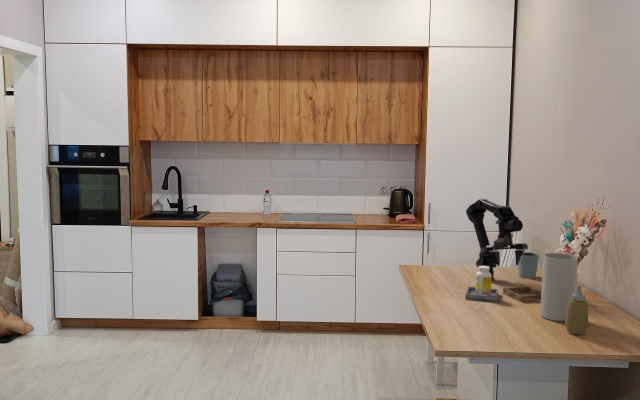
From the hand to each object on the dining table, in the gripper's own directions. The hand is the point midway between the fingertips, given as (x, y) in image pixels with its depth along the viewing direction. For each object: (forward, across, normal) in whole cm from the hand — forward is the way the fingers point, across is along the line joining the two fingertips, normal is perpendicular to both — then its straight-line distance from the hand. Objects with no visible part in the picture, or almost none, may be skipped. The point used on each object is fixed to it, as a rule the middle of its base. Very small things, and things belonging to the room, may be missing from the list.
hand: (507, 265), depth 278 cm
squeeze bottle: (+25, +44, -38) cm, 63 cm away
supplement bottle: (+12, -3, -20) cm, 24 cm away
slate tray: (+13, -4, -21) cm, 25 cm away
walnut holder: (+14, +10, -6) cm, 18 cm away
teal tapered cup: (+7, -5, +31) cm, 32 cm away
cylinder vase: (+21, +31, -25) cm, 45 cm away
